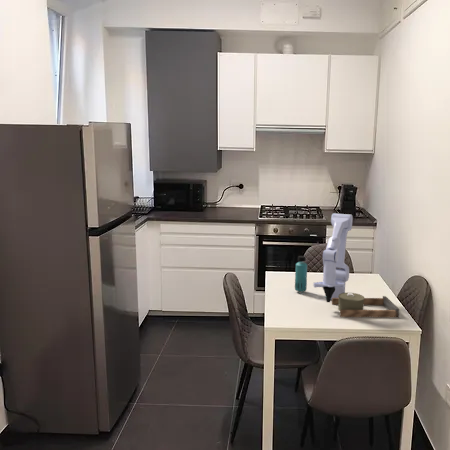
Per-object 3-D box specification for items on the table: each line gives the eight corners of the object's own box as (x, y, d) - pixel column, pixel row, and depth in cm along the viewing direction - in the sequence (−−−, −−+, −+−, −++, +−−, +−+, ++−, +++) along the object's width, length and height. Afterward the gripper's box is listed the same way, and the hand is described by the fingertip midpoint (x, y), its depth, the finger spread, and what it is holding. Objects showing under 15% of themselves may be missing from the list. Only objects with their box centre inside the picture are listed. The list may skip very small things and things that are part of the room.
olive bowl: (339, 314, 213) (339, 300, 212) (336, 305, 225) (337, 291, 224) (365, 315, 212) (366, 301, 210) (361, 306, 223) (362, 293, 222)
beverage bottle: (305, 290, 247) (306, 254, 244) (307, 294, 241) (309, 257, 237) (293, 290, 247) (294, 254, 244) (295, 294, 241) (296, 257, 237)
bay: (340, 316, 209) (341, 308, 209) (331, 303, 227) (332, 295, 226) (398, 317, 209) (399, 309, 209) (385, 303, 227) (385, 296, 226)
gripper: (315, 276, 211) (314, 304, 214) (346, 276, 211) (345, 304, 214) (313, 272, 218) (311, 299, 221) (343, 272, 218) (341, 299, 220)
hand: (328, 301), depth 218 cm, fingers closed
